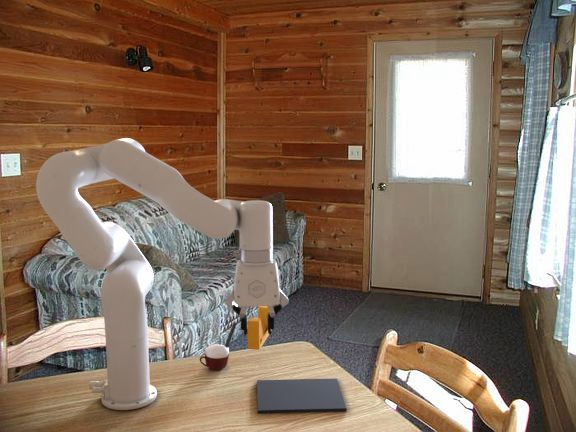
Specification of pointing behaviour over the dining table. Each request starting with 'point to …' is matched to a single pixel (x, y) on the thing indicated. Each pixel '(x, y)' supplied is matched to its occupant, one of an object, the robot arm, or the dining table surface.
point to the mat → (299, 396)
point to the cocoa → (218, 353)
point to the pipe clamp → (258, 329)
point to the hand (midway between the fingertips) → (257, 331)
